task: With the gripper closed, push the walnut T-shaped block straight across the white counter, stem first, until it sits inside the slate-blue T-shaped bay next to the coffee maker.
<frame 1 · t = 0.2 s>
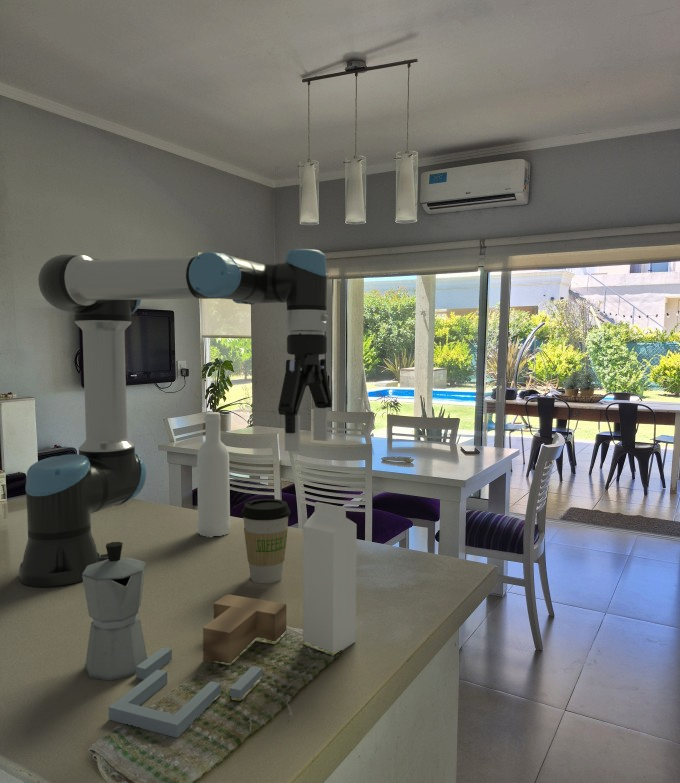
hand: (307, 445, 117), 27 cm above the kitchen counter, tool pointing down, fingers open, 13 cm apart
milk: (329, 644, 96), on the kitchen counter
bottle: (214, 533, 153), on the kitchen counter
t block: (237, 645, 95), on the kitchen counter
t bay: (184, 691, 82), on the kitchen counter
coffee maker: (115, 662, 90), on the kitchen counter
coffee cup: (266, 578, 123), on the kitchen counter
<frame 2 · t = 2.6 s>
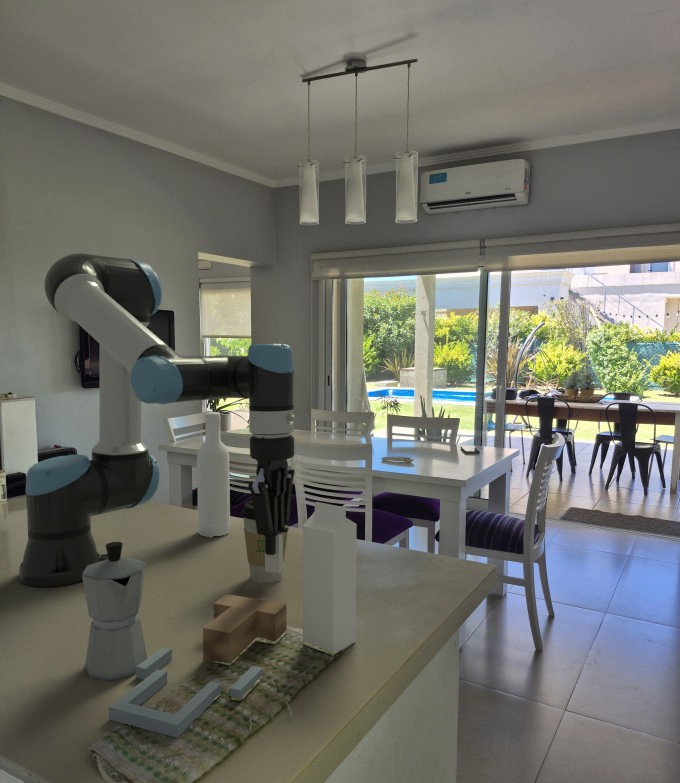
hand: (274, 570, 106), 8 cm above the kitchen counter, tool pointing down, fingers closed
nothing on the kitchen counter moved.
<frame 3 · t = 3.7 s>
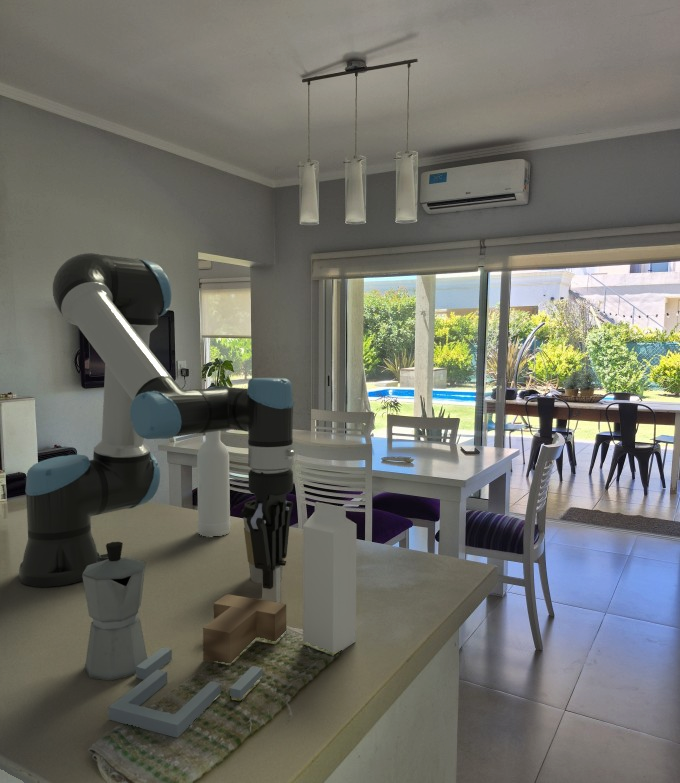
hand: (271, 603, 106), 2 cm above the kitchen counter, tool pointing down, fingers closed
nothing on the kitchen counter moved.
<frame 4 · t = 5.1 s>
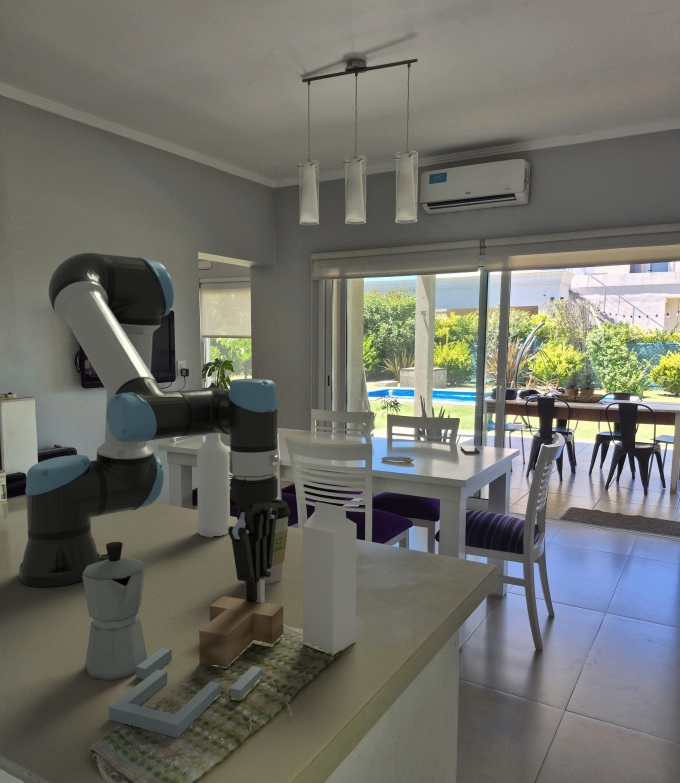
hand: (255, 617, 101), 2 cm above the kitchen counter, tool pointing down, fingers closed
t block: (234, 647, 94), on the kitchen counter, touching gripper
everything else where it was.
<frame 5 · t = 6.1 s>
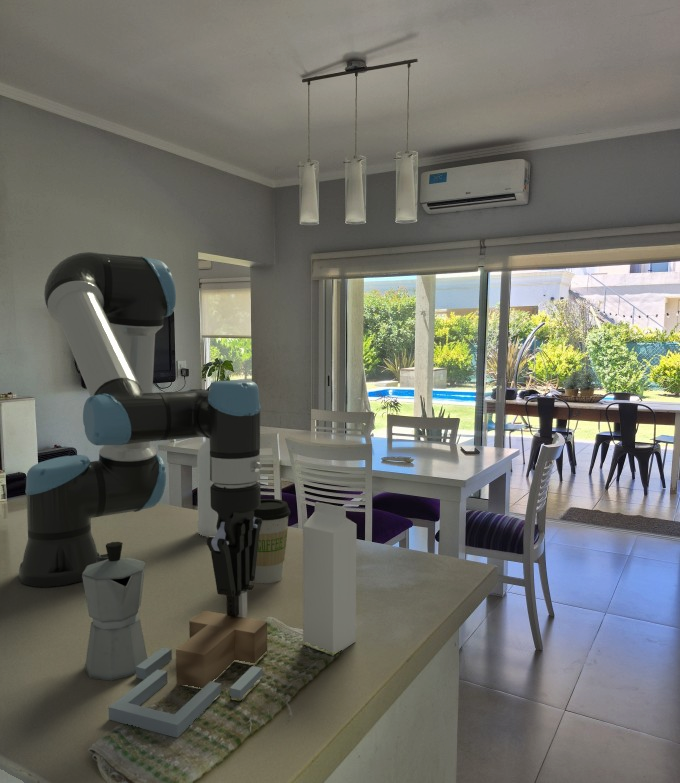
hand: (237, 632, 95), 2 cm above the kitchen counter, tool pointing down, fingers closed
t block: (214, 666, 89), on the kitchen counter, touching gripper
everything else where it was.
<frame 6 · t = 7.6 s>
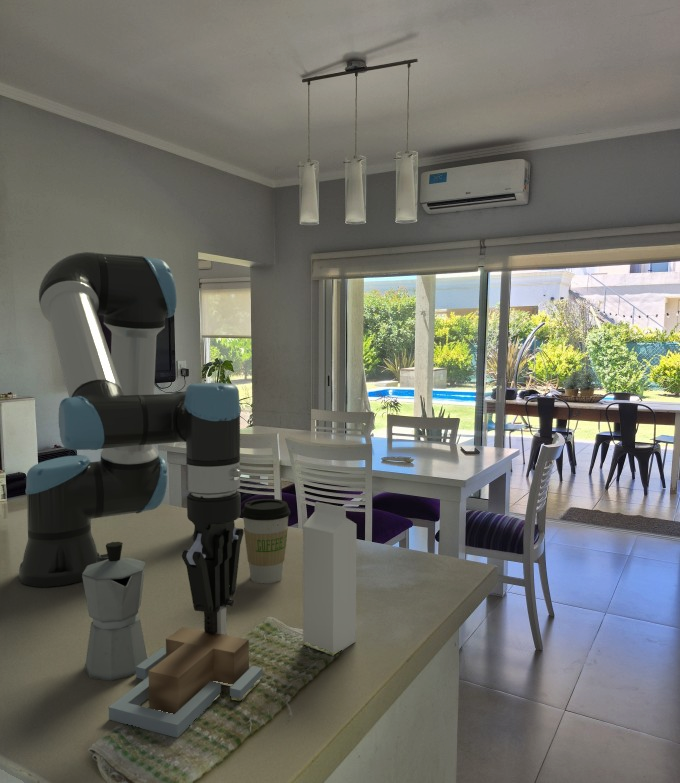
hand: (216, 650, 90), 2 cm above the kitchen counter, tool pointing down, fingers closed
t block: (191, 687, 83), on the kitchen counter, touching gripper
everything else where it was.
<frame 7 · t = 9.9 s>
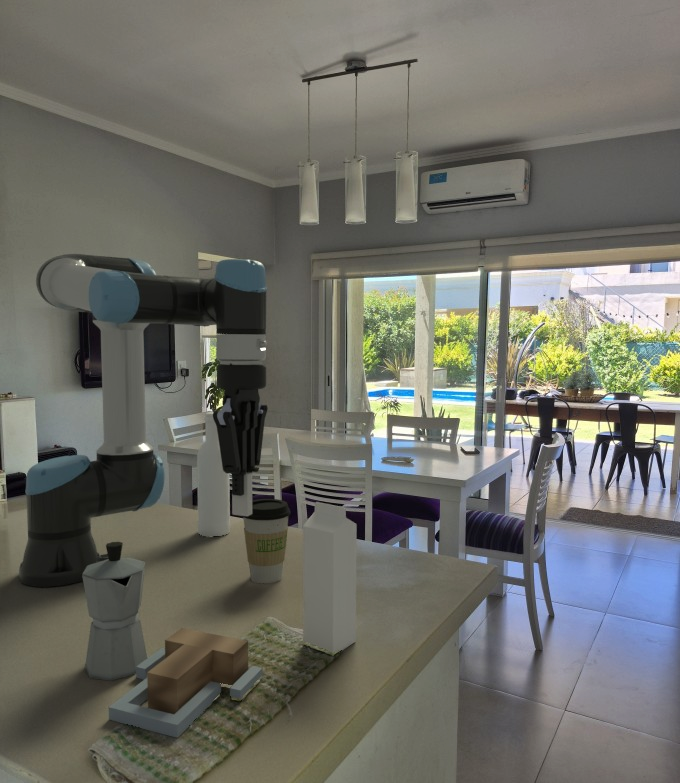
hand: (242, 514, 96), 20 cm above the kitchen counter, tool pointing down, fingers closed
t block: (190, 689, 83), on the kitchen counter
everything else where it was.
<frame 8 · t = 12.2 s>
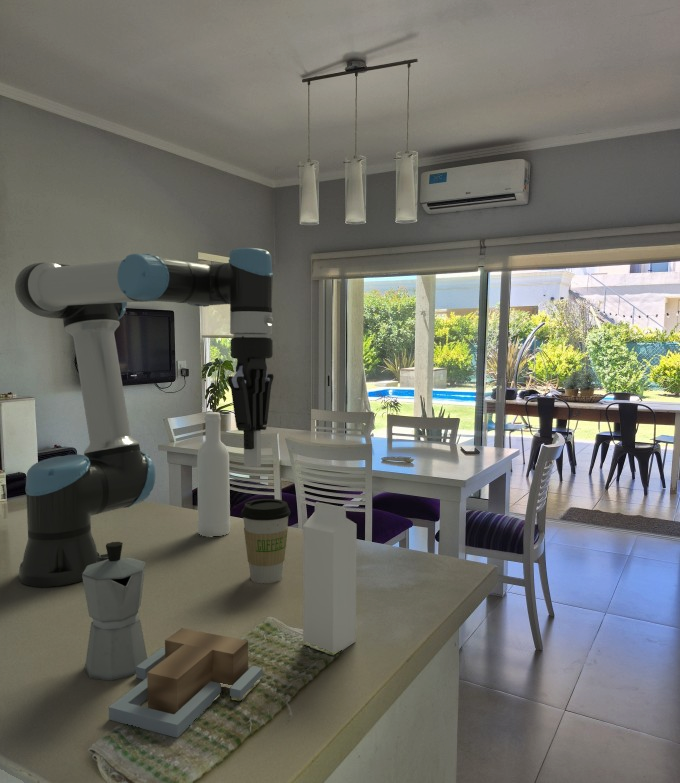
hand: (252, 465, 112), 24 cm above the kitchen counter, tool pointing down, fingers closed
nothing on the kitchen counter moved.
at the end: t block 0.5 cm off-centre on the t bay, point 0.0 cm above the t bay's base; t block tilted 0° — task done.
